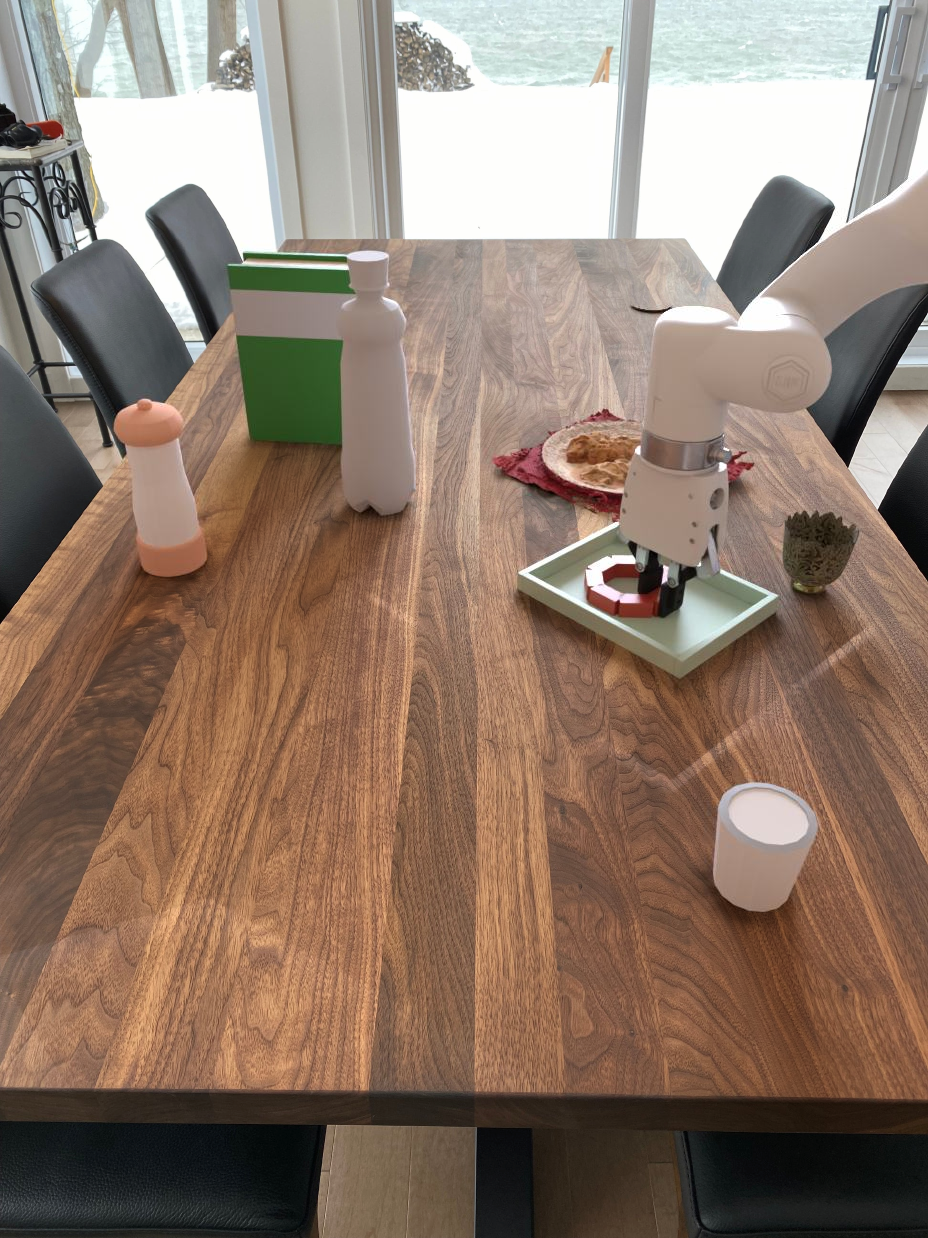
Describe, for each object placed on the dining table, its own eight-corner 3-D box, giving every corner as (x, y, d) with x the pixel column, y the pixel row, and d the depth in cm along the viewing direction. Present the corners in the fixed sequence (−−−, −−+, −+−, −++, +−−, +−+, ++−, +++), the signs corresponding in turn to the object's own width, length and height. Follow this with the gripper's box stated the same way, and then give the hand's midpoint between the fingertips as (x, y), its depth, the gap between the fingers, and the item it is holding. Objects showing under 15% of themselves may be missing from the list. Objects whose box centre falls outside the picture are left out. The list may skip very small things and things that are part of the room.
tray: (775, 615, 102) (779, 595, 101) (679, 682, 93) (682, 661, 91) (614, 540, 115) (616, 521, 114) (516, 592, 106) (517, 572, 104)
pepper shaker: (138, 550, 113) (104, 392, 102) (202, 539, 115) (175, 383, 104) (144, 582, 107) (109, 418, 96) (211, 570, 109) (184, 408, 98)
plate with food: (604, 420, 145) (605, 398, 143) (753, 473, 129) (757, 449, 127) (488, 470, 132) (488, 446, 130) (638, 535, 116) (640, 510, 114)
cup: (857, 601, 104) (875, 535, 100) (800, 615, 102) (816, 549, 98) (812, 567, 110) (827, 504, 106) (757, 580, 108) (770, 516, 103)
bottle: (425, 491, 125) (420, 248, 108) (402, 524, 118) (393, 269, 101) (358, 482, 127) (343, 242, 110) (332, 514, 120) (312, 263, 103)
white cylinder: (730, 833, 77) (745, 767, 73) (813, 876, 73) (834, 810, 69) (687, 886, 72) (701, 819, 69) (774, 935, 69) (793, 868, 65)
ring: (693, 593, 105) (695, 579, 104) (637, 629, 99) (639, 614, 98) (623, 560, 110) (624, 546, 109) (566, 591, 105) (567, 577, 104)
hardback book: (249, 439, 138) (226, 265, 125) (264, 419, 144) (244, 250, 131) (371, 446, 137) (362, 270, 123) (382, 425, 143) (373, 255, 129)
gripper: (776, 459, 89) (743, 624, 100) (639, 410, 99) (621, 565, 109) (729, 484, 85) (699, 654, 96) (590, 430, 95) (577, 590, 105)
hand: (658, 605), depth 102 cm, fingers closed on ring, 2 cm apart
